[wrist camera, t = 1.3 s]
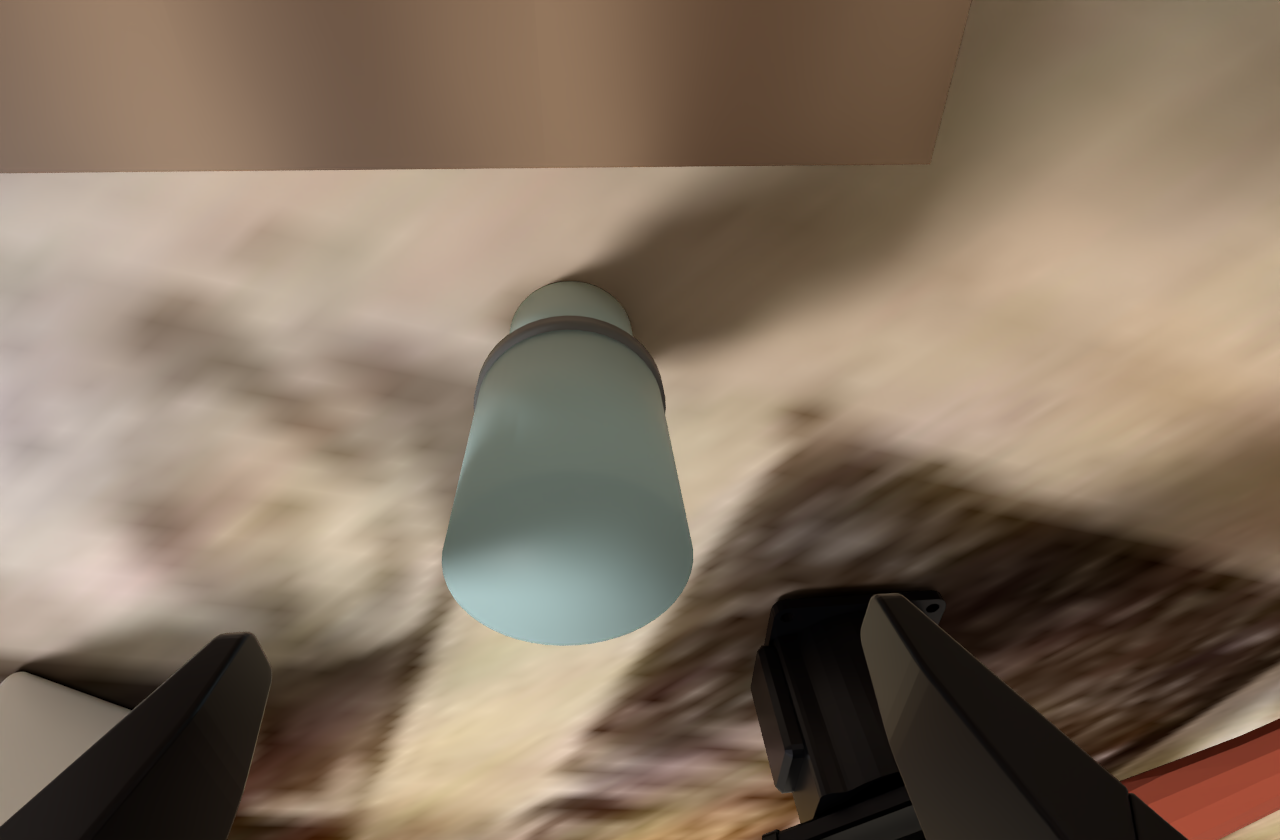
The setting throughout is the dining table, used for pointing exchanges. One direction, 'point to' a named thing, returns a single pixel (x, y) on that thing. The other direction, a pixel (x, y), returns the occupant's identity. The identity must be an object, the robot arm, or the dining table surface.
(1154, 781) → the mallet
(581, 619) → the stepped peg
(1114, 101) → the dining table surface
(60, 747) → the medicine bottle
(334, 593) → the dining table surface
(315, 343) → the dining table surface
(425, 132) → the socket board
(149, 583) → the dining table surface
